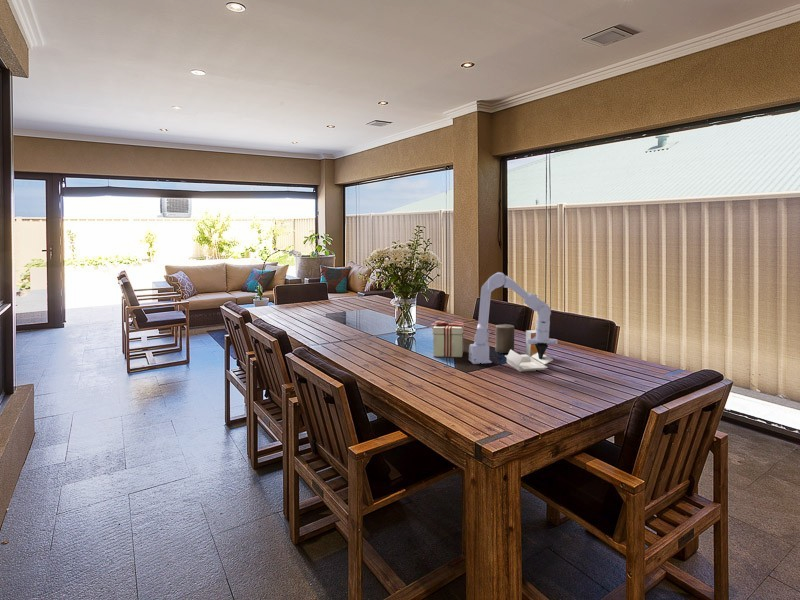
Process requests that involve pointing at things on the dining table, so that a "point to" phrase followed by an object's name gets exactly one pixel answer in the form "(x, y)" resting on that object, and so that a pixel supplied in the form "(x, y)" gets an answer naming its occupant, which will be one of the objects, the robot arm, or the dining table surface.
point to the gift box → (448, 339)
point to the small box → (531, 348)
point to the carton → (527, 364)
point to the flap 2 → (544, 359)
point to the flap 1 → (514, 357)
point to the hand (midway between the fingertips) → (540, 358)
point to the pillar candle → (504, 338)
